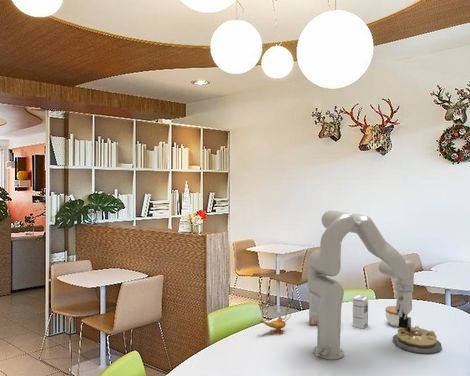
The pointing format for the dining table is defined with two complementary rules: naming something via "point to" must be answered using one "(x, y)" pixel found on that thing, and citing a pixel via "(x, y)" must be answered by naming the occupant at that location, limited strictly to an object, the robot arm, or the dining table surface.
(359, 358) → the dining table surface
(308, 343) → the dining table surface
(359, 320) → the syrup box
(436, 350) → the base
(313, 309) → the cracker box
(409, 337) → the gold dish
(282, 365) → the dining table surface
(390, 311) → the lidded jar
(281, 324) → the magic lamp
